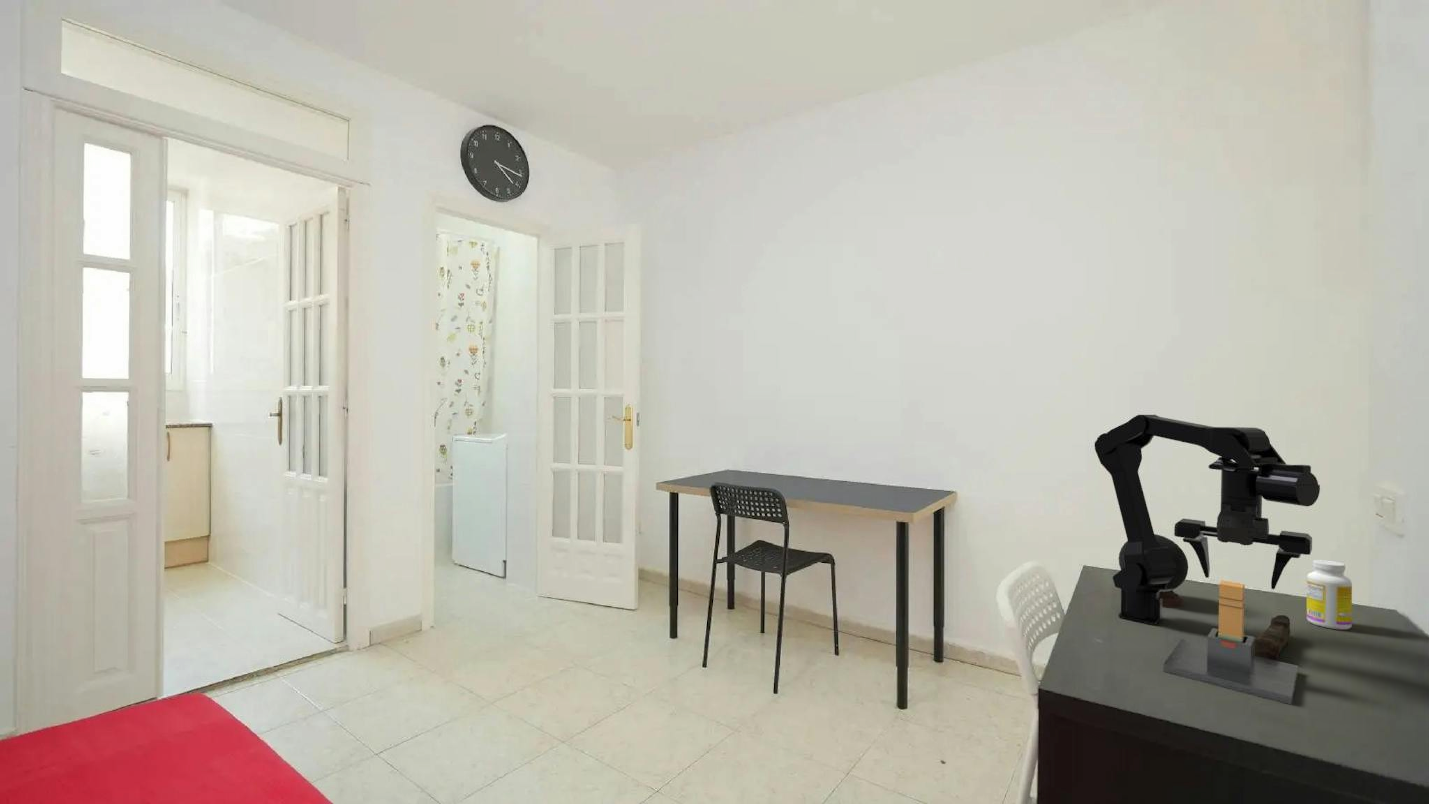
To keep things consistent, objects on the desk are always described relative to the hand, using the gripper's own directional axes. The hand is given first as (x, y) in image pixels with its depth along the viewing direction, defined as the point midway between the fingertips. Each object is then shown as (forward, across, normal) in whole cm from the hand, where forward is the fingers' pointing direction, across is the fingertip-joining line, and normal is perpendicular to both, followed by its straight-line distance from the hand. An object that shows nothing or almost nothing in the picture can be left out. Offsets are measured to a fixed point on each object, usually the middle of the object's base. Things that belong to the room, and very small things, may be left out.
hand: (1239, 582), depth 114 cm
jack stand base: (+13, 0, -11) cm, 17 cm away
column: (+7, 0, -11) cm, 13 cm away
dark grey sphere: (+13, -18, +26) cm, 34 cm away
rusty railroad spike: (+13, +4, +9) cm, 17 cm away
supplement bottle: (+13, +11, +33) cm, 37 cm away
